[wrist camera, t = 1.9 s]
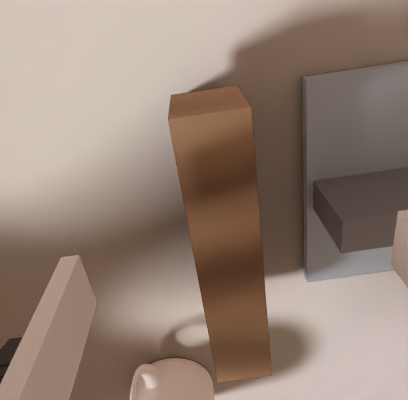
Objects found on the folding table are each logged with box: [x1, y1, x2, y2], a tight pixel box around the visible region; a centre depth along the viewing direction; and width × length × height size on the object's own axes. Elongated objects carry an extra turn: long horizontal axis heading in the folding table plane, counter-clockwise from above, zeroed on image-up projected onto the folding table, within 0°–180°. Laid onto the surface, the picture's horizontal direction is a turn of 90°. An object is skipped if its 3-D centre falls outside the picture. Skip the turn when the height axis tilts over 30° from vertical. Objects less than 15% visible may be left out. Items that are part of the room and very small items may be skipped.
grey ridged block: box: [302, 61, 408, 282], centre depth 27 cm, size 10×18×7 cm, turn 8°
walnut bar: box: [168, 85, 272, 383], centre depth 25 cm, size 20×4×5 cm, turn 8°
